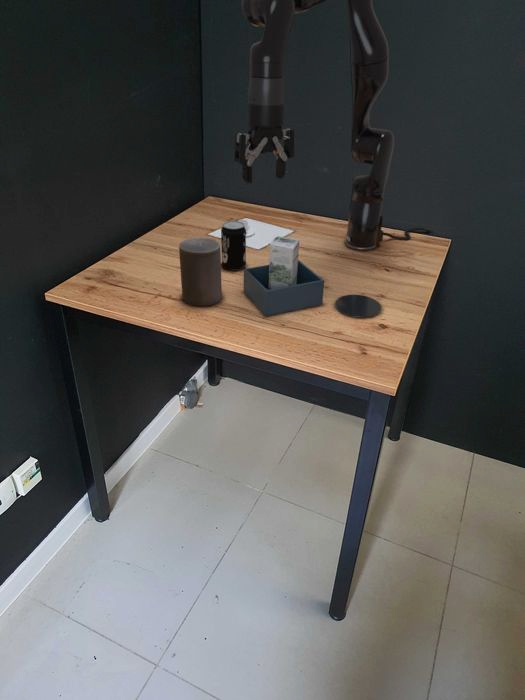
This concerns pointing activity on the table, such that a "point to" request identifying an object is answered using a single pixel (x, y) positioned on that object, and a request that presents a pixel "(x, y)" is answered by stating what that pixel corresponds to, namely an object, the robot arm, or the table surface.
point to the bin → (283, 290)
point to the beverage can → (233, 245)
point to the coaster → (358, 306)
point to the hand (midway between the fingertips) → (264, 180)
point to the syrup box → (283, 262)
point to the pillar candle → (200, 271)
